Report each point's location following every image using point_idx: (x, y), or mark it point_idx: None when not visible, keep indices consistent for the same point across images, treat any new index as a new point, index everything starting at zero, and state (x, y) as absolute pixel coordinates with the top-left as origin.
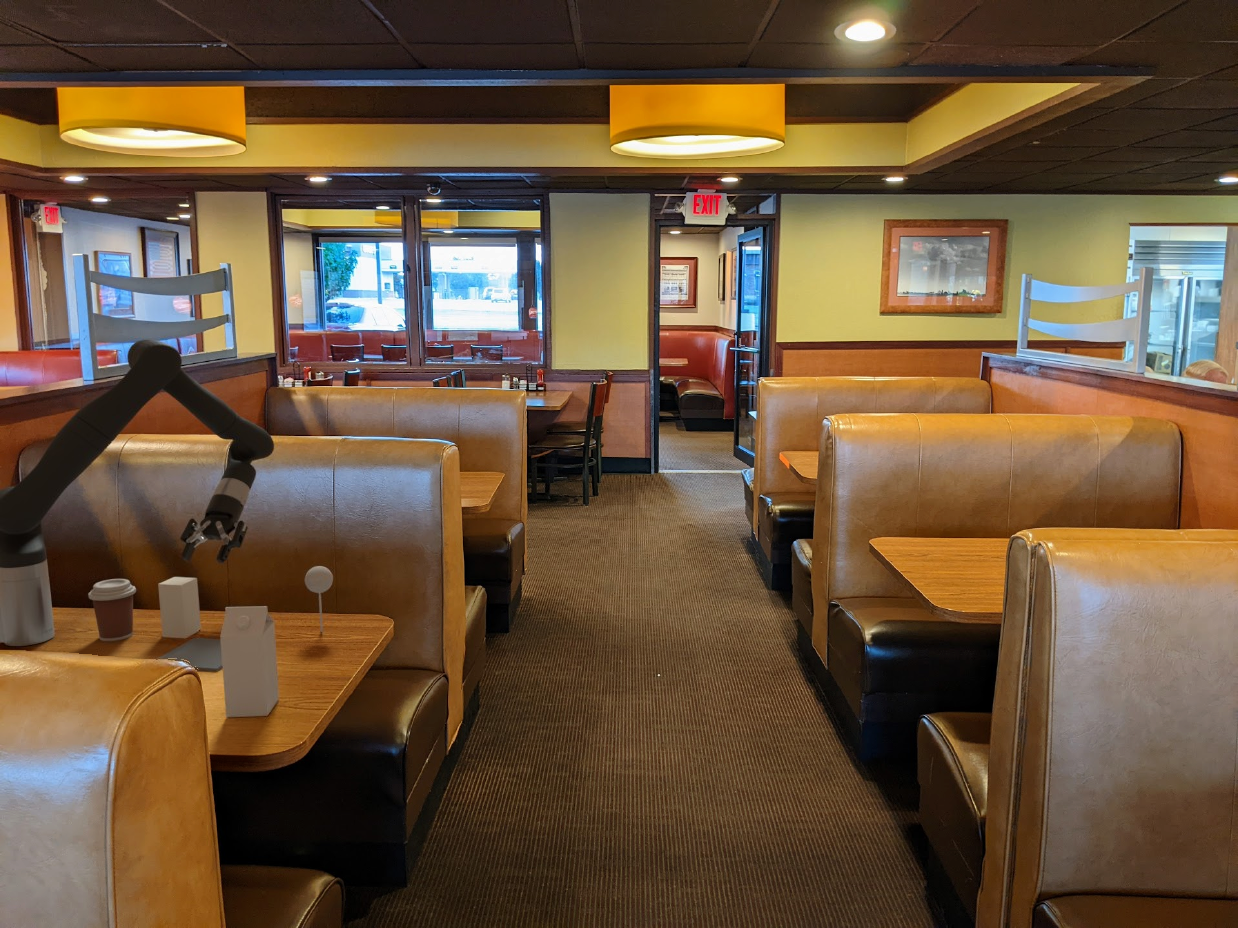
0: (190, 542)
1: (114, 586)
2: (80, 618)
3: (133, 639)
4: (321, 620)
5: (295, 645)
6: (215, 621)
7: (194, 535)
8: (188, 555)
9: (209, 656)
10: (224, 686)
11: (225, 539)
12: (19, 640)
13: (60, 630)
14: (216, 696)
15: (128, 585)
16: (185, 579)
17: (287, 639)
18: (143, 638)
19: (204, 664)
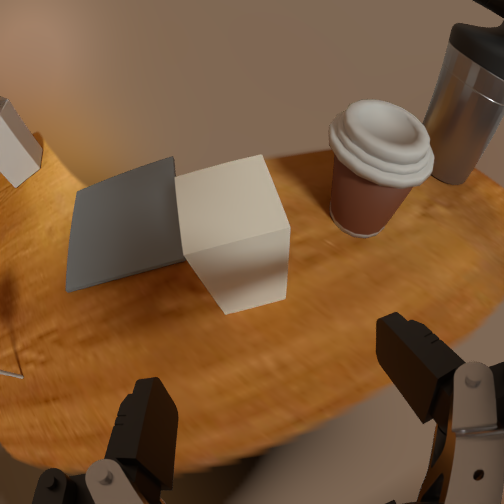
0: (451, 384)
1: (352, 109)
2: (490, 246)
3: (310, 212)
4: (6, 372)
5: (28, 309)
6: (241, 375)
7: (479, 429)
8: (391, 352)
9: (103, 211)
10: (29, 131)
11: (113, 499)
12: None
13: (454, 196)
14: (59, 162)
15: (355, 139)
16: (212, 222)
17: (44, 329)
18: (297, 224)
19: (96, 190)
